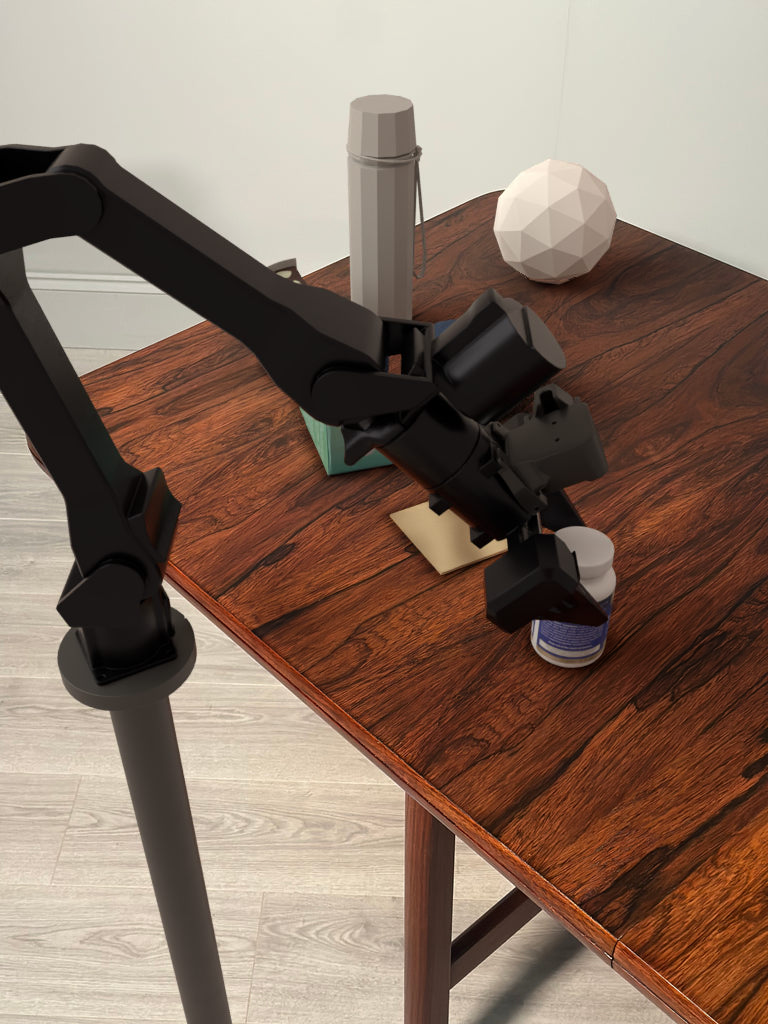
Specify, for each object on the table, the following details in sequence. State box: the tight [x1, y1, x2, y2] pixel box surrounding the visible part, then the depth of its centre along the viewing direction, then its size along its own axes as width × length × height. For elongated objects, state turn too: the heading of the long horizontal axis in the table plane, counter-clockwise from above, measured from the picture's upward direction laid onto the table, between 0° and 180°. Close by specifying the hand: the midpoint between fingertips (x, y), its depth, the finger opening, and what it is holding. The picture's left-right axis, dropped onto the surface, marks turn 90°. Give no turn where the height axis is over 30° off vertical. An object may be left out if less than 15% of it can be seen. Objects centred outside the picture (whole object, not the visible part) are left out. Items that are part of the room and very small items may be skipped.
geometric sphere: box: [493, 158, 618, 285], centre depth 128 cm, size 14×15×15 cm
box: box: [299, 407, 394, 476], centre depth 101 cm, size 7×14×8 cm, turn 16°
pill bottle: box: [530, 526, 617, 669], centre depth 78 cm, size 6×6×10 cm
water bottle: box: [345, 93, 428, 320], centre depth 115 cm, size 9×8×25 cm
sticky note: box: [389, 500, 508, 576], centre depth 92 cm, size 9×9×1 cm
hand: (594, 578), depth 77 cm, fingers open, 9 cm apart
